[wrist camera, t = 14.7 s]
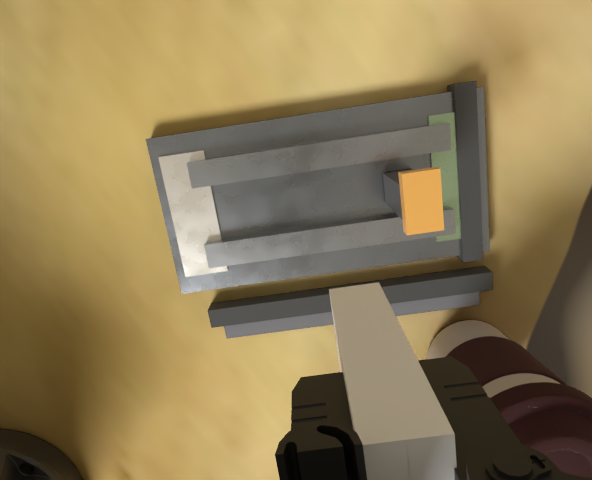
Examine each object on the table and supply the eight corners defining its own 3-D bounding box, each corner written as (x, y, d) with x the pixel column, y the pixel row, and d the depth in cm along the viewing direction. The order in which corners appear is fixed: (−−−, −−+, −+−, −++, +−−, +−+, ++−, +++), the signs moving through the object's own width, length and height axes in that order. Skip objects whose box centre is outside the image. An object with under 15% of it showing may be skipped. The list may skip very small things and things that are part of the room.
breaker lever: (386, 213, 35) (407, 235, 29) (381, 163, 34) (401, 174, 28) (416, 208, 35) (444, 230, 29) (412, 158, 34) (440, 168, 28)
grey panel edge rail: (457, 256, 38) (463, 262, 36) (447, 85, 34) (454, 84, 33) (475, 253, 38) (483, 259, 36) (468, 82, 34) (476, 80, 33)
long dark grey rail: (217, 333, 40) (214, 342, 38) (211, 303, 39) (207, 310, 38) (485, 297, 39) (493, 305, 37) (484, 265, 38) (492, 272, 37)
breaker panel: (185, 288, 39) (178, 298, 37) (150, 138, 35) (141, 139, 33) (483, 247, 38) (494, 254, 36) (477, 87, 34) (489, 85, 32)
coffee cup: (398, 323, 40) (455, 441, 25) (507, 289, 39) (632, 391, 24) (426, 413, 42) (493, 568, 28) (530, 383, 41) (655, 527, 27)
